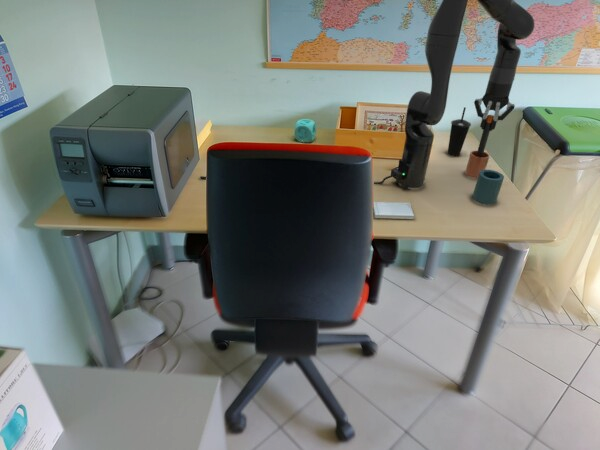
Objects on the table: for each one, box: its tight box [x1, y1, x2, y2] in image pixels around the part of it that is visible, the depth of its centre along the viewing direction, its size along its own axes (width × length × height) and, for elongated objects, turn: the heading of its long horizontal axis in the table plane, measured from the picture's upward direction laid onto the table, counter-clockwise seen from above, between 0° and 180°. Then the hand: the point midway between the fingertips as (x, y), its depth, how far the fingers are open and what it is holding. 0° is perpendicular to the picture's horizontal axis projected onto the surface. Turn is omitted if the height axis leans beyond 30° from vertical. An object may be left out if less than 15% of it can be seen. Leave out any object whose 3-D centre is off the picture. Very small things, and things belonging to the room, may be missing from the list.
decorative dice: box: [294, 118, 317, 144], centre depth 181 cm, size 8×8×8 cm
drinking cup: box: [447, 107, 472, 157], centre depth 166 cm, size 8×8×20 cm
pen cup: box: [464, 150, 490, 179], centre depth 153 cm, size 7×7×9 cm
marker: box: [476, 114, 494, 157], centre depth 146 cm, size 2×2×15 cm
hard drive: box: [372, 201, 415, 220], centre depth 133 cm, size 2×8×12 cm
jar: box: [472, 169, 505, 205], centre depth 137 cm, size 8×8×10 cm
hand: (487, 129), depth 145 cm, fingers closed on marker, 2 cm apart
